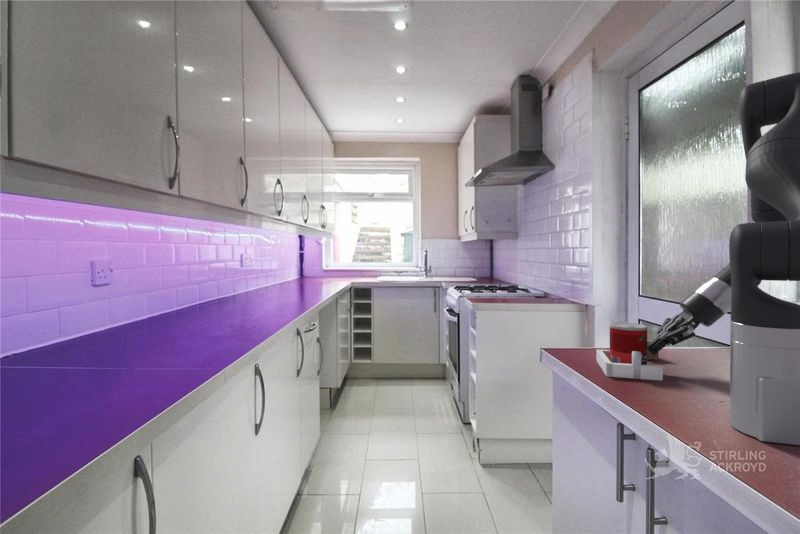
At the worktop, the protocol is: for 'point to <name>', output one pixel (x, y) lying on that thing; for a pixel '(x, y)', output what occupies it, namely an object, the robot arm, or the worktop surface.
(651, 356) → the walnut block
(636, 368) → the tray
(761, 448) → the worktop surface
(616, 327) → the canned food
